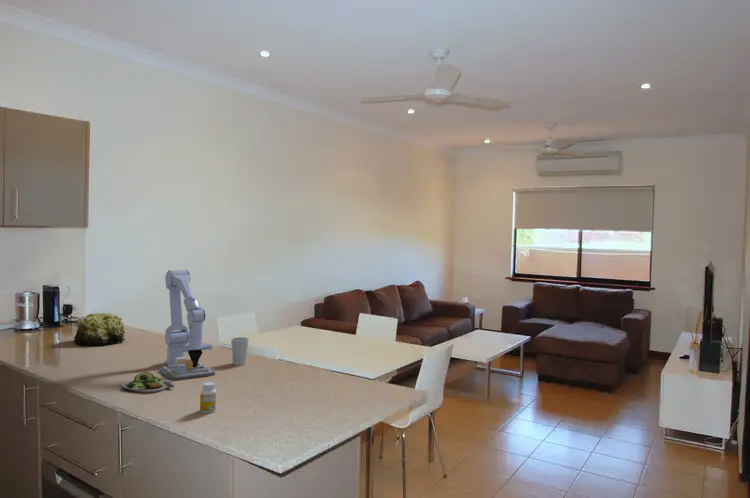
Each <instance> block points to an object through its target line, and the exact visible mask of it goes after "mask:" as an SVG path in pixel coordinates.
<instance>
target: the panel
mask: <svg viewBox="0 0 750 498" xmlns="http://www.w3.org/2000/svg"><path fill="white" fill-rule="evenodd" d="M158 369H159V371H158V372H159V373H160V374H162V375H163V376H164V377H166V378H167V380H170V381H172V382H173V381H179V380H185V379H187V380H188V379H194V378H202V377H211V376H215V375H216V372H215V371H213V370H212V369H210V368H209V367H207V366H205V365H204V364H202V363H200V362H198V364H197V367H193V370H187V373H186V374H182V375H175V366H169V365H166V366H163V367H162V368H158Z"/></svg>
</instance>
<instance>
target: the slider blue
mask: <svg viewBox="0 0 750 498" xmlns="http://www.w3.org/2000/svg"><path fill="white" fill-rule="evenodd" d="M186 373H187V366H186V364H176V366H175V375H182V374H186Z"/></svg>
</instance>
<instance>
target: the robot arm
mask: <svg viewBox="0 0 750 498" xmlns="http://www.w3.org/2000/svg"><path fill="white" fill-rule="evenodd" d="M191 276H192V275H191V272H190V271H189V269H186V270H167V271H166V273H165V287H166V289H168V291H169V305H170V306H169V307H170V309H169V310H170V322H171V323H170V325H169V326H168V327H167V328H166V329H165V335H164V342H165V344H166V345H167V348H166V360H164V363H165V364H166V365H167V366H175V360H176V358H178V357H185V358H186V352H187V354H188V356H189V358H190V360H192V362H193V367H197V364H198V363H199V361H200V359H201V357H202V355H203V351H205V350H213V345H212V344H203V325H204V322H205V320H206V311H205V309H204V308H202V307H201V306H200V303H199V301H198V298H197V296H195V295H193V292H192V289H191V285H190V282H191ZM181 293H182V295H183V298H184V299H183V304H184V307H185V309H186V312H187V315H186V319H187V325H188V326H187V325H185V324H183V311H182V299H181V298H182V296H181Z"/></svg>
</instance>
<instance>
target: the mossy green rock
mask: <svg viewBox="0 0 750 498" xmlns="http://www.w3.org/2000/svg"><path fill="white" fill-rule="evenodd" d="M76 327H77V328H76V329H77V330H76V332H75V335H74V336H73V338H74V341H73V342H74V344H79V343H80V344H81V345H83V346H84V347H86V348H87V347H90V346H92V347H94V346H96V347H97V346H98V347H102V346H104V345H105V346H106V345H108V344H116V343H120V342H123V341H125V333H126V330H125V328H124V322H123V318H122V317H119V316H118V315H115V314H113V313H110V312H108V313H106V312H103V313H102V312H101V313H99V312H98V313H97V312H96V313H90V314H87V315H86V316H85V318H83V319H81V320H80V321H79V322H78V323H77V325H76Z"/></svg>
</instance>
